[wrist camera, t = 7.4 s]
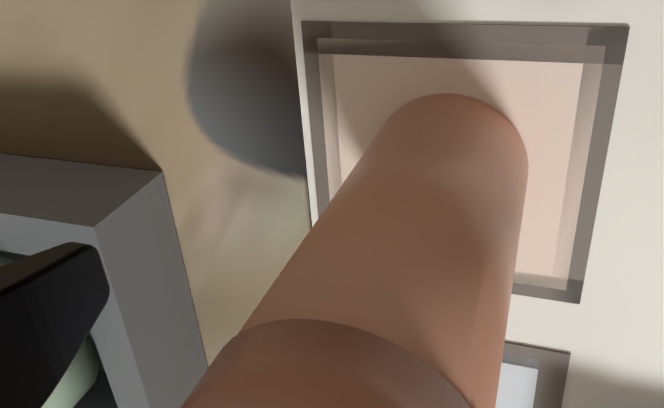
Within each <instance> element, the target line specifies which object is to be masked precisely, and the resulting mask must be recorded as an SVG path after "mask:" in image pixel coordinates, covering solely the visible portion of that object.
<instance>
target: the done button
mask: <svg viewBox="0 0 664 408" xmlns="http://www.w3.org/2000/svg"><path fill="white" fill-rule="evenodd" d="M11 262H14V261H12V260H10V259H8V258H5V257H3V256H0V266H3V265H5V264H8V263H11ZM98 366H99V363H98V356H97V352H96V348H95V345H94V343H93V340H92V338H91V336H90V334H88V336H87V337H86V339H85V341H84V342H83V344H82V346H81V347H80V349H79V351H78V352H77V354H76V356H75V357H74V359H73V361H72V363H71V364H70V366H69V368H68V369H67V371H66V372H65V374H64V376H63V377H62V379H61V380H60V382H59V384H58V385H57V387H56V388H55V389H54V391H53V392H52V394H51V395H50V397H49V398H48V399H47V401H46V402H45V404H44V405H43V406H42V408H73V407H74V406H75V405H76V404H77V402H78V401H79V400H80V399H81V398H82V397H83V396H84V395H85V393H86V392H87V391H88V390H89V389H90V388H91V387H92V385H93V384H94V383H95V380H96V378H97V375H98Z"/></svg>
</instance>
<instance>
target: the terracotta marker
mask: <svg viewBox="0 0 664 408" xmlns="http://www.w3.org/2000/svg"><path fill="white" fill-rule="evenodd" d="M528 169H529V164H528V156H527V152H526V148H525V145H524V143H523V141H522V138H521V136H520V135H519V133H518V131H517V130H516V128H515V127H514V126H513V124H512V123H511V122H510V121H509V120H508V119H507V118H506V117H505V116H504V115H503V114H502V113H501V112H499V111H498V110H497V109H495V108H494V107H492V106H491V105H489V104H487V103H485V102H483V101H481V100H478V99H475V98H473V97H469V96H465V95H461V94H452V93H439V94H432V95H427V96H423V97H420V98H417V99H415V100H412V101H410V102H408V103H407V104H405V105H403V106H402V107H400V108H399V109H398V110H396V111H395V112H394V113H393V114H392V115H391V116H390V117H389V118H388V119H387V121H386V122H385V124H384V125H383V126H382V128H381V129H380V131H379V132H378V134H377V135H376V136H375V138H374V139H373V141H372V142H371V144H370V145H369V147H368V148H367V149H366V151H365V152H364V154H363V155H362V157H361V158H360V159H359V161H358V162H357V164H356V165H355V167H354V168H353V170H352V171H351V172H350V174H349V175H348V177H347V178H346V180H345V181H344V182H343V184H342V185H341V187H340V188H339V190H338V191H337V193H336V194H335V195H334V197H333V198H332V200H331V201H330V203H329V204H328V205H327V207H326V208H325V210H324V211H323V213H322V214H321V216H320V217H319V218H318V220H317V221H316V223H315V224H314V226H313V227H312V228H311V230H310V231H309V233H308V234H307V236H306V237H305V238H304V240H303V241H302V243H301V244H300V246H299V247H298V249H297V250H296V251H295V253H294V254H293V256H292V257H291V259H290V260H289V261H288V263H287V264H286V266H285V267H284V269H283V270H282V272H281V273H280V274H279V276H278V277H277V279H276V280H275V282H274V283H273V284H272V286H271V287H270V289H269V290H268V292H267V293H266V295H265V296H264V297H263V299H262V300H261V302H260V303H259V305H258V306H257V307H256V309H255V310H254V312H253V313H252V315H251V316H250V318H249V319H248V320H247V322H246V323H245V325H244V326H243V328H242V329H241V330H240V332H239V333H238V335H237V336H235V337H233V338H232V339H231V340H230V341H229V342H228V343H227V344H226V345H225V346H224V347H223V348H222V349H221V351H220V352H219V354H218V355H217V357H216V358H215V359H214V361H213V362H212V364H211V365H210V366H209V368H208V369H207V371H206V372H205V373H204V375H203V376H202V378H201V379H200V381H199V382H198V383H197V385H196V386H195V388H194V389H193V390H192V392H191V393H190V395H189V396H188V398H187V399H186V400H185V402H184V403H183V405H182V406H181V407H180V408H495V406H496V399H497V392H498V385H499V378H500V371H501V364H502V357H503V350H504V343H505V335H506V328H507V321H508V314H509V307H510V300H511V293H512V286H513V279H514V272H515V265H516V258H517V251H518V244H519V237H520V230H521V223H522V216H523V209H524V202H525V195H526V187H527V180H528Z"/></svg>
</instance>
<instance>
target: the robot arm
mask: <svg viewBox="0 0 664 408" xmlns="http://www.w3.org/2000/svg"><path fill="white" fill-rule="evenodd" d="M109 294H110V286H109V282H108V279H107V276H106V273H105V270H104V267H103V264H102V260H101V257H100V254H99V252H98V250H97V249H96V248H95V247H94V246H92V245H90V244H84V243H78V242H67V243H64V244H61V245H58V246H55V247H52V248H50V249H47V250H44V251H41V252H39V253H36V254H33V255H30V256H28V257H25V258H22V259H19V260H16V261H14V262H11V263H8V264H5V265H3V266H0V408H42V406H43V405H44V404H45V402H46V401H47V399H48V398H49V397H50V395H51V394H52V392H53V391H54V389H55V388H56V387H57V385H58V384H59V382H60V380H61V379H62V377H63V376H64V374H65V372H66V371H67V369H68V368H69V366H70V364H71V363H72V361H73V359H74V357H75V356H76V354H77V352H78V351H79V349H80V347H81V346H82V344H83V342H84V341H85V339H86V337H87V336H88V334H89V332H90V330H91V329H92V327H93V325H94V324H95V322H96V320H97V319H98V317H99V315H100V314H101V312H102V310H103V309H104V307H105V305H106V303H107V301H108V299H109Z"/></svg>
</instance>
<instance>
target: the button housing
mask: <svg viewBox="0 0 664 408" xmlns="http://www.w3.org/2000/svg"><path fill="white" fill-rule="evenodd" d="M67 242H78V243H84V244H90V245H92V246H94V247H95V248H96V249H97V250H98V252H99V254H100V257H101V260H102V264H103V267H104V270H105V273H106V276H107V279H108V282H109V286H110V294H109V299H108V301H107V303H106V305H105V307H104V309H103V310H102V312H101V314H100V315H99V317H98V319H97V320H96V322H95V324H94V325H93V327H92V329H91V330H90V332H89V334H90V336H91V338H92V340H93V343H94V345H95V348H96V352H97V356H98V363H99V366H98V375H97V378H96V380H95V383H94V384H93V385H92V387H91V388H90V389H89V390H88V391H87V392H86V393H85V395H84V396H83V397H82V398H81V399H80V400H79V401H78V402H77V404H76V405H75V406H74V407H73V408H180V407H181V406H182V405H183V403H184V402H185V400H186V399H187V398H188V396H189V395H190V393H191V392H192V390H193V389H194V388H195V386H196V385H197V383H198V382H199V381H200V379H201V378H202V376H203V375H204V373H205V372H206V371H207V369H208V366H207V362H206V357H205V353H204V349H203V344H202V340H201V336H200V332H199V327H198V323H197V319H196V314H195V310H194V306H193V301H192V297H191V293H190V289H189V284H188V280H187V276H186V271H185V267H184V263H183V259H182V254H181V250H180V246H179V241H178V237H177V233H176V229H175V224H174V220H173V216H172V211H171V207H170V203H169V198H168V194H167V190H166V186H165V181H164V177H163V173H162V172H159V171H150V170H141V169H133V168H124V167H115V166H106V165H97V164H88V163H79V162H71V161H62V160H53V159H44V158H35V157H26V156H18V155H9V154H0V256H3V257H5V258H8V259H10V260H12V261H16V260H19V259H22V258H25V257H28V256H30V255H33V254H36V253H39V252H41V251H44V250H47V249H50V248H52V247H55V246H58V245H61V244H64V243H67Z"/></svg>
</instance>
